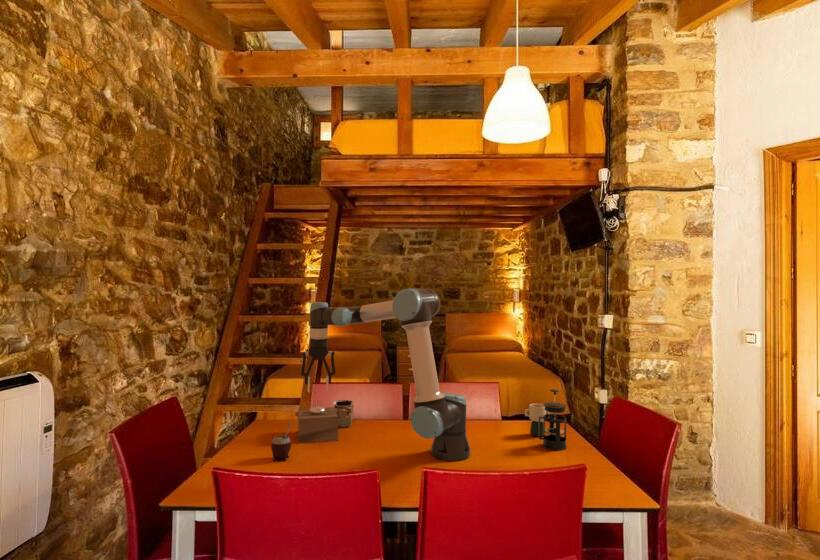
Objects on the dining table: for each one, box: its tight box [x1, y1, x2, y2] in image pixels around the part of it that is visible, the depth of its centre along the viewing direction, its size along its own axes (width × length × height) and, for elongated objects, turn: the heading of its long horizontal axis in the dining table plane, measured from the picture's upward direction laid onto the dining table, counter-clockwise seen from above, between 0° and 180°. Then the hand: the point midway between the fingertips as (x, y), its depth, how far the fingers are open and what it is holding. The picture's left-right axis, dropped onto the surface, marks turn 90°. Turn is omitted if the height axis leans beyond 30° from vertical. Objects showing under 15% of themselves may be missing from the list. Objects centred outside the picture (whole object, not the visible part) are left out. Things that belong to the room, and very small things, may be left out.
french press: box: [538, 388, 568, 451], centre depth 196 cm, size 12×9×23 cm
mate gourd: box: [270, 418, 298, 463], centre depth 179 cm, size 8×8×15 cm
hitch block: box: [297, 406, 339, 444], centre depth 206 cm, size 16×16×10 cm
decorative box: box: [332, 399, 355, 428], centre depth 228 cm, size 13×20×10 cm, turn 177°
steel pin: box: [309, 405, 326, 415], centre depth 206 cm, size 6×6×12 cm
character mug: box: [524, 403, 551, 437], centre depth 211 cm, size 11×7×13 cm, turn 80°
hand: (318, 391), depth 206 cm, fingers open, 7 cm apart
